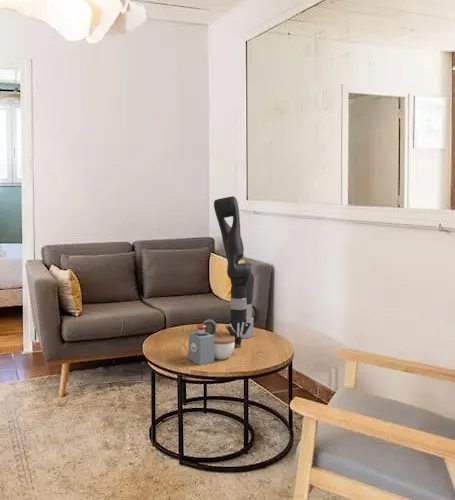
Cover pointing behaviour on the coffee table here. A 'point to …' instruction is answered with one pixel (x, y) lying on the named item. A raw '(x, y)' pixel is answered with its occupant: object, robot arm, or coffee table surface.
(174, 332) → the coffee table surface
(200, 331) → the plunger
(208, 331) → the ceramic mug
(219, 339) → the lidded bowl
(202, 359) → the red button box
